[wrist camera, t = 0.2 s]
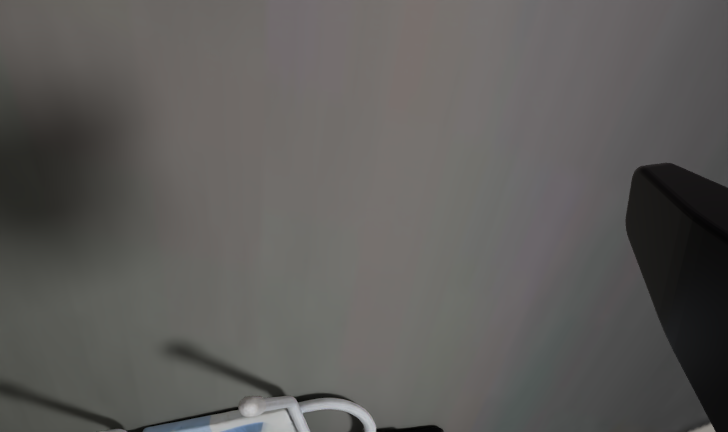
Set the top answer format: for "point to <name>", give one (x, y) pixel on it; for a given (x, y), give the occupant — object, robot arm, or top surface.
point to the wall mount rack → (265, 416)
